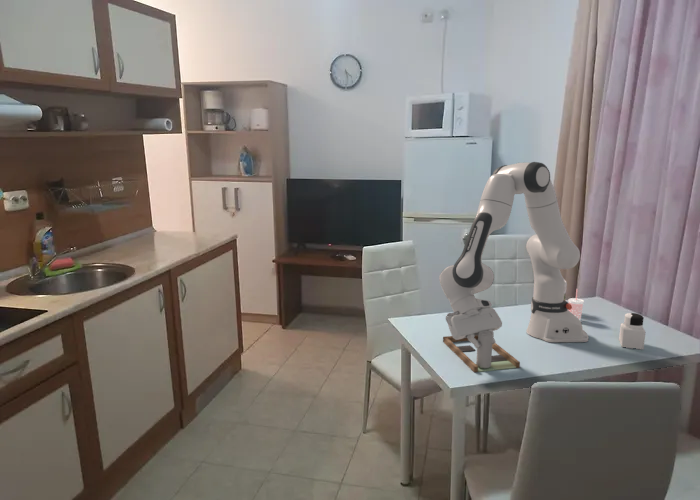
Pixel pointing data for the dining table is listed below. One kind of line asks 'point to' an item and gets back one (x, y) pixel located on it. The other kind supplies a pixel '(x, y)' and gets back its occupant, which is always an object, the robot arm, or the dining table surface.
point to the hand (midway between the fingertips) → (486, 345)
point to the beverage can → (484, 349)
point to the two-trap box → (496, 361)
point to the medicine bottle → (632, 331)
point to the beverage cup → (576, 306)
